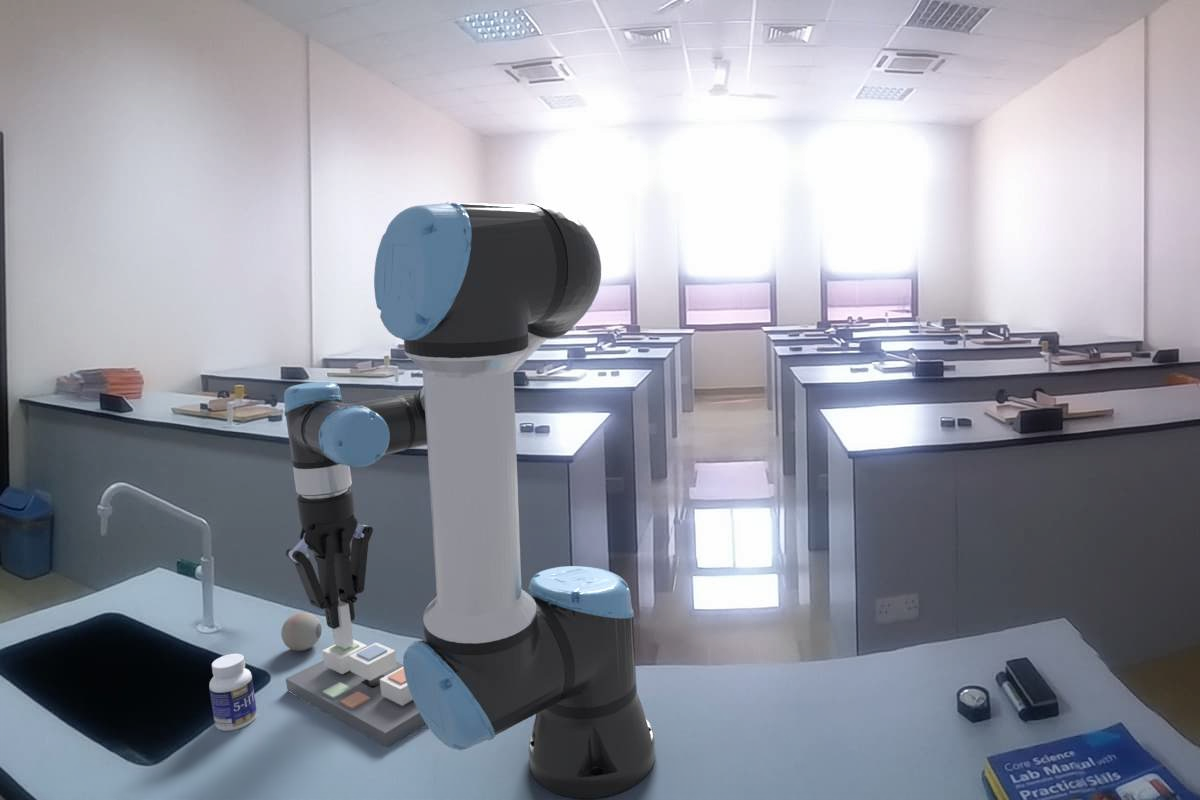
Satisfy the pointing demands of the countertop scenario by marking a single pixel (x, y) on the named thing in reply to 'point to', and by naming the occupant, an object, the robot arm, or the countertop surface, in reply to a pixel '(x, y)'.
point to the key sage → (341, 656)
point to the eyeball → (301, 631)
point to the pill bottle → (232, 693)
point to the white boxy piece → (373, 662)
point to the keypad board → (356, 702)
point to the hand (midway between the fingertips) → (344, 644)
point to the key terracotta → (396, 687)
